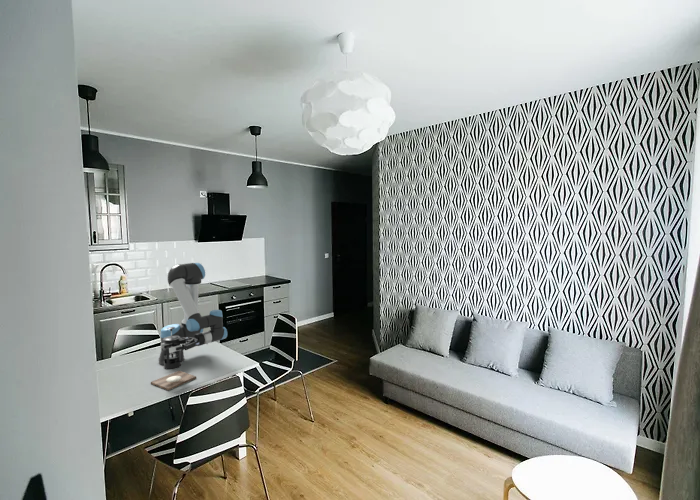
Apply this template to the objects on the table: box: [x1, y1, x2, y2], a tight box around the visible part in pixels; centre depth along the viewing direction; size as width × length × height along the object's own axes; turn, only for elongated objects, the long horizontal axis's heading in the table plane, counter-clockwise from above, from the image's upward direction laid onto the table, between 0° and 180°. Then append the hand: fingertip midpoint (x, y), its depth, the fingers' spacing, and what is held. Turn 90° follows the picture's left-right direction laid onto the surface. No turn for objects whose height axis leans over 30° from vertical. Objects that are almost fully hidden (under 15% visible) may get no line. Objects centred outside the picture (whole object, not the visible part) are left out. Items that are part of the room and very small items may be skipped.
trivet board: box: [150, 370, 197, 391], centre depth 210 cm, size 16×18×1 cm
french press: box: [163, 327, 185, 371], centre depth 209 cm, size 12×9×23 cm
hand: (165, 348), depth 205 cm, fingers closed on french press, 10 cm apart
